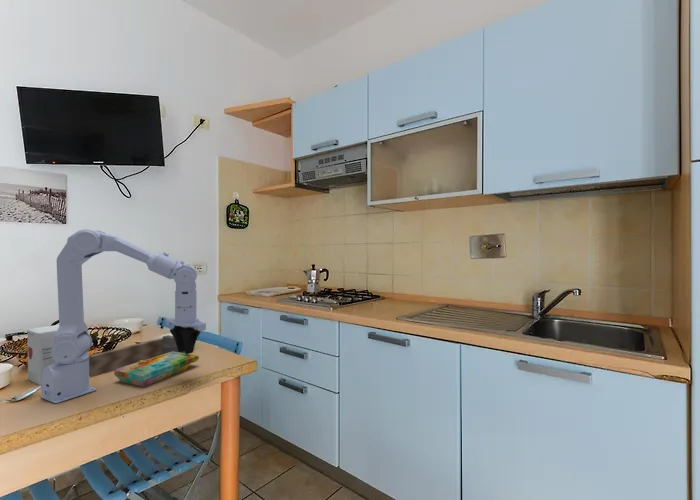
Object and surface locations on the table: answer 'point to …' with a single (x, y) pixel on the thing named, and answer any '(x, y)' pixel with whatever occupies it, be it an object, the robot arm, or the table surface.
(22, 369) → the table surface
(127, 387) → the table surface
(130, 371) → the puzzle game
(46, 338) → the supplement box
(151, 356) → the shelf corner
